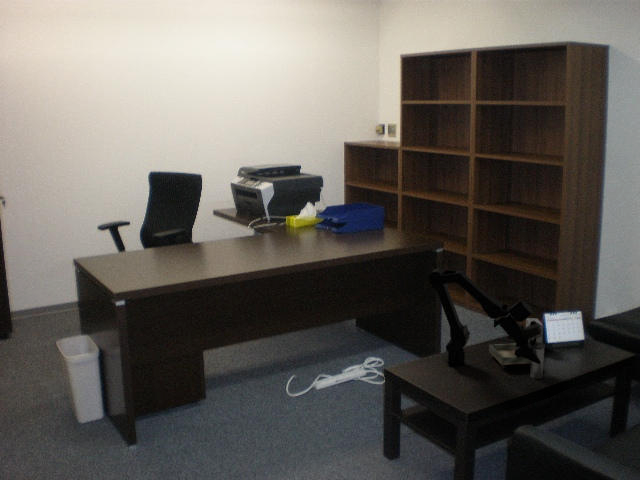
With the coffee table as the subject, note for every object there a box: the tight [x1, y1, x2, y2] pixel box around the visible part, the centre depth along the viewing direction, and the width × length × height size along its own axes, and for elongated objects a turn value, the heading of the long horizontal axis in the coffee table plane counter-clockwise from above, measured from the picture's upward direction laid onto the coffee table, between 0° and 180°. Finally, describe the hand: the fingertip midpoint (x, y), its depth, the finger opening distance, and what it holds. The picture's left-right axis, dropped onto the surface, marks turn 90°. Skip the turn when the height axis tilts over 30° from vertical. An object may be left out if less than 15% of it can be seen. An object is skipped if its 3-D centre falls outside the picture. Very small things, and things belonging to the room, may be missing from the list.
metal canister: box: [529, 342, 546, 380], centre depth 248 cm, size 5×5×13 cm
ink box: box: [525, 317, 544, 343], centre depth 277 cm, size 8×5×12 cm, turn 179°
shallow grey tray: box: [488, 342, 531, 369], centre depth 262 cm, size 14×14×5 cm
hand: (541, 360), depth 248 cm, fingers open, 6 cm apart
